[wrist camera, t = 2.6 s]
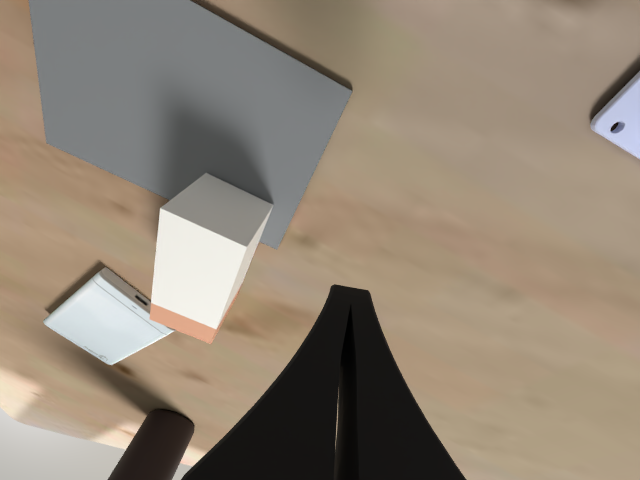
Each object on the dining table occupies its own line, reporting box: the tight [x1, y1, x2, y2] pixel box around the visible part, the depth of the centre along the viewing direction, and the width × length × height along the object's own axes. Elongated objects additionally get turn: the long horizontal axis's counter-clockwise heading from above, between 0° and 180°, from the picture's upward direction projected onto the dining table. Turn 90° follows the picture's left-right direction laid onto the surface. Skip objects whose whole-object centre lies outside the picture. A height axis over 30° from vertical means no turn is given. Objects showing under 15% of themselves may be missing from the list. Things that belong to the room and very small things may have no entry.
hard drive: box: [43, 267, 175, 365], centre depth 28 cm, size 2×8×12 cm
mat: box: [29, 0, 352, 250], centre depth 16 cm, size 16×11×1 cm
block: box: [150, 173, 273, 344], centre depth 18 cm, size 4×4×10 cm
